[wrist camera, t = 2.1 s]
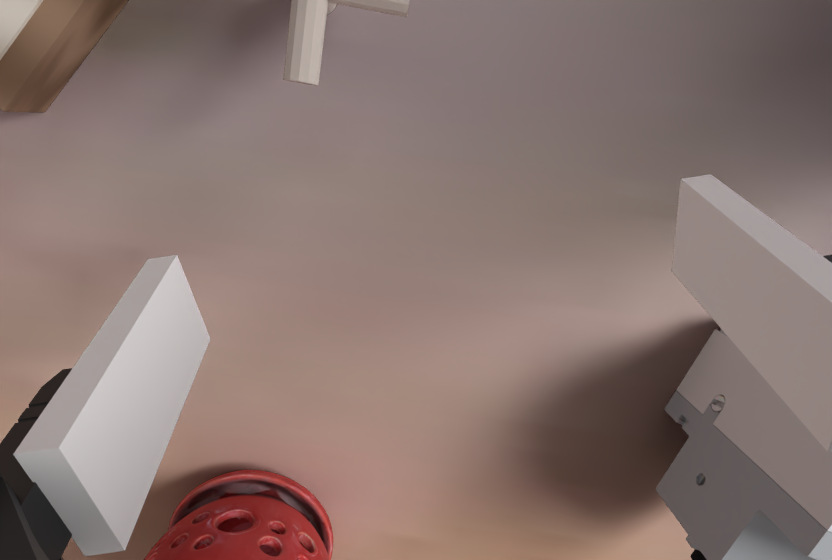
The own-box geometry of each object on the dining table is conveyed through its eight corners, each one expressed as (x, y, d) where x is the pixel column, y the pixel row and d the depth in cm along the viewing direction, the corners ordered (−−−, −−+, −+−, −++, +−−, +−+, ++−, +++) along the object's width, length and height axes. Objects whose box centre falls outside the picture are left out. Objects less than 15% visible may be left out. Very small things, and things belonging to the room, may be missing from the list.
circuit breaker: (620, 476, 44) (736, 651, 30) (725, 312, 41) (911, 418, 27) (703, 511, 45) (852, 695, 31) (810, 354, 42) (1033, 476, 28)
